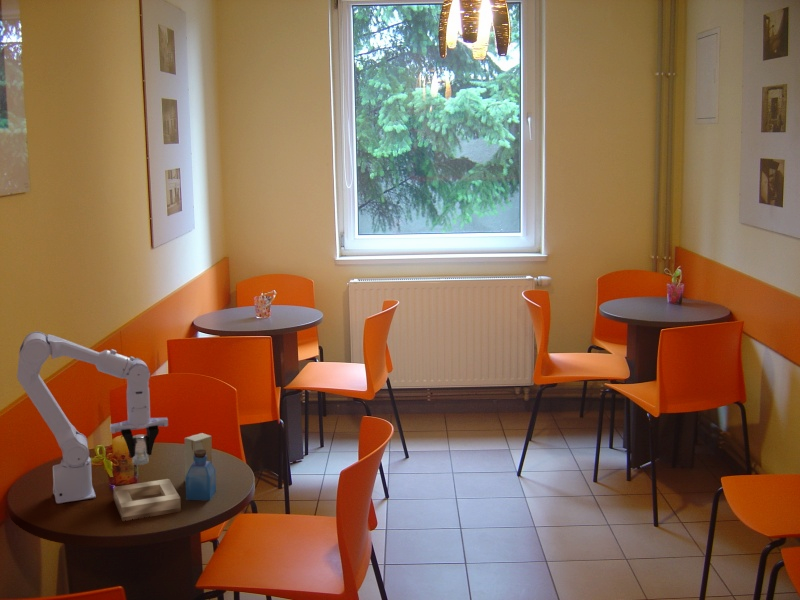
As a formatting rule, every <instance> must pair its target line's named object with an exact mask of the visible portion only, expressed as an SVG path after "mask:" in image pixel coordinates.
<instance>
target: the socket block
mask: <svg viewBox="0 0 800 600" xmlns="http://www.w3.org/2000/svg"><path fill="white" fill-rule="evenodd" d="M112 489H113V501H114V503H115V506H116V508H117V511H118V513H119V516H120V519H121V521H122V522H126V521H132V519H133V520H137V519H138V518H139V519H144V517H145V518H149V516H150V517H156V516H161V515H166V514H167V515H168V514H174V513H179V512H181V511H182V506H181V496H180V495H179V493H178V491H177V490H176V488H175V486H174V485H173V483H172V482H171V479H170V478H165V479H158V480H151V481H143V482H139V483H132V484H125V485H118V486H113V488H112ZM125 520H126V521H125Z"/></svg>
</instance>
